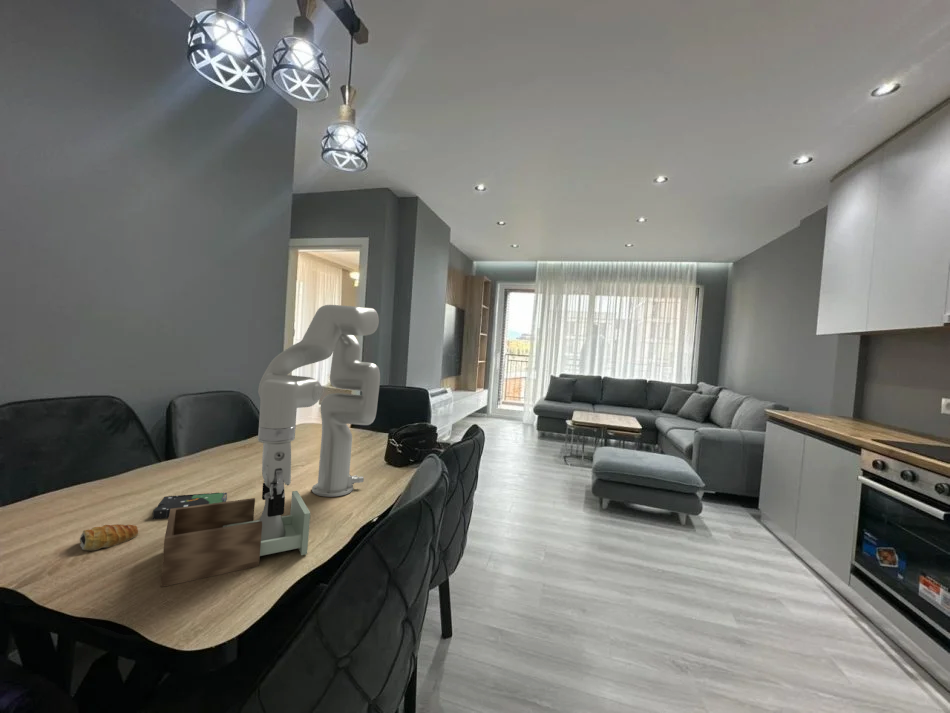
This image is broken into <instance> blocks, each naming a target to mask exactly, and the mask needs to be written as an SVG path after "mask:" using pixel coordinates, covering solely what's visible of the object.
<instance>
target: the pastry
mask: <svg viewBox="0 0 950 713" xmlns="http://www.w3.org/2000/svg"><path fill="white" fill-rule="evenodd" d="M137 536H139V529H138V526H137V525H134V524H119V523H118V524H111V525H110V524H104V525H102V526H94V527H91V529H84V530H83V531H82V534H81V535H80V537H79V542H80V545H79V546H80V548H81V550H83V551H90V552H92V551H93V552H94V551H99V550H100V549H103V548H107V549H108V548H111V547H114V546H116V545H117V546H118V545H120V544H123V543H126V542H129V541H131V540H132V539H134V538H136V537H137Z"/></svg>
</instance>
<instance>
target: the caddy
mask: <svg viewBox="0 0 950 713" xmlns="http://www.w3.org/2000/svg"><path fill="white" fill-rule="evenodd" d="M255 505H256V498H255V497H253V498H252V497H251V498H245V499H238V500H230V501H229V500H228V501H226V502H220V503H212V504H204V505H196V506H188V507H181V508H173V509H170V513H169V518H167V524H166V529H165V535H164V541H163V550H162V551H163V553H162V565H161V579H160V580H161V581H160V588H163V587H167V586H168V587H169V586H172V585H177V584H181V583H186V582H191V581H196V580H200V579H205V578H208V577H214V576H219V575H223V574H228V573H233V572H237V571H238V572H239V571H241V570H246V569H252V568H256V567H259V566H260V557H261V556H260V546H261V533H262V521H259V522H253V523H247V524H241V525H234V526H228V527H223V526H224V525H230V524H236V523H243V522H249V521H255V520H254V518H255V517H254V516H255Z"/></svg>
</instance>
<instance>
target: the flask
mask: <svg viewBox="0 0 950 713" xmlns="http://www.w3.org/2000/svg"><path fill="white" fill-rule="evenodd" d="M264 498H265V500H264V506H263V510H262V513H261V515H260V517H259V519H258V520H259V521H262V533H261V541H265V540H270V539H275V538H281V537H285V533H286V531H285V528H284V525H283V522H282V519H281V516H282V515H278V516H272V517H268V515H267V513H268V498H270V492H268V493H266V494H265V495H264Z"/></svg>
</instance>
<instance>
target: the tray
mask: <svg viewBox="0 0 950 713" xmlns="http://www.w3.org/2000/svg"><path fill="white" fill-rule="evenodd" d="M289 513H290V514H289V515H288V514H287V515H280V516H281V519H282V522H283V525H284V528H285V531H286V533H285V537H281V538H275V539H270V540H265V541H261V546H260V557H262V556H266V555H271V554H272V555H273V554H276V553H281V552H286V551H291V550H296V549H298V551H299V553H300V555H301V556H305V555H307V554H308V549H309V547H308V546H309V538H310V537H309V536H310V535H309V534H310V523H311V511H310V510H309V508H308V506H307V505H306V503H305V501H304V500H303V498H302V496H301V495H300V492H299V491H298V490H292V491H291V500H290V512H289ZM253 522H259V519H256V520H253V521H249V522H243V523H236V524H230V525H224V526H223V527H228V526H234V525H241V524H247V523H253Z"/></svg>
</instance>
